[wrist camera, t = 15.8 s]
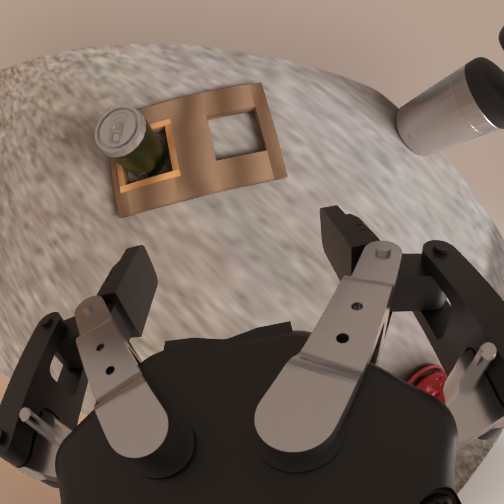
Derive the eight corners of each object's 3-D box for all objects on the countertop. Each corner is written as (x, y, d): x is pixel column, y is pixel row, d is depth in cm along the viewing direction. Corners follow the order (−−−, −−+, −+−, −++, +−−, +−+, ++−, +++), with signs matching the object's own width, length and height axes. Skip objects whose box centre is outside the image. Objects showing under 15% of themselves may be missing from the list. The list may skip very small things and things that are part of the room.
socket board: (260, 87, 34) (261, 81, 33) (285, 178, 35) (288, 175, 34) (110, 125, 33) (105, 120, 31) (122, 218, 34) (118, 217, 32)
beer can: (165, 179, 34) (138, 153, 22) (128, 178, 34) (88, 156, 22) (170, 140, 34) (147, 101, 22) (133, 141, 33) (98, 105, 21)
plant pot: (379, 400, 39) (414, 437, 27) (430, 346, 39) (474, 370, 28) (405, 428, 40) (435, 460, 29) (449, 381, 41) (486, 405, 29)
